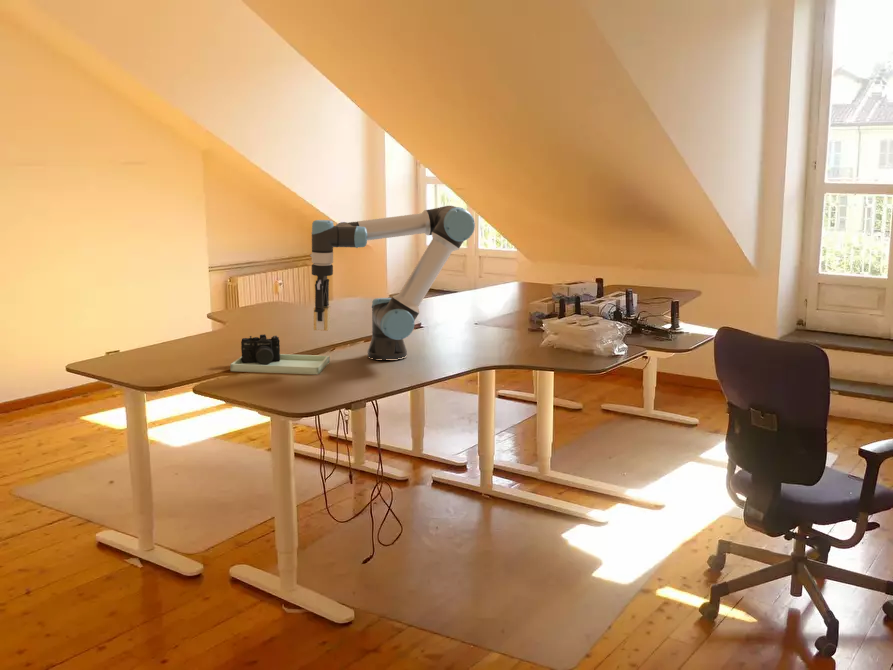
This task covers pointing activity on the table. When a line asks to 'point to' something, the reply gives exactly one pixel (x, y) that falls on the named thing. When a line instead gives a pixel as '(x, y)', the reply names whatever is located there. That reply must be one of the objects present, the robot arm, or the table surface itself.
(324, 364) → the tray
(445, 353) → the table surface
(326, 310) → the brass block
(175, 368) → the table surface
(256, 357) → the camera
